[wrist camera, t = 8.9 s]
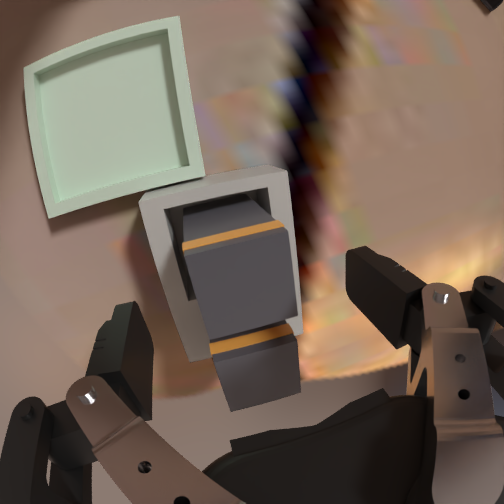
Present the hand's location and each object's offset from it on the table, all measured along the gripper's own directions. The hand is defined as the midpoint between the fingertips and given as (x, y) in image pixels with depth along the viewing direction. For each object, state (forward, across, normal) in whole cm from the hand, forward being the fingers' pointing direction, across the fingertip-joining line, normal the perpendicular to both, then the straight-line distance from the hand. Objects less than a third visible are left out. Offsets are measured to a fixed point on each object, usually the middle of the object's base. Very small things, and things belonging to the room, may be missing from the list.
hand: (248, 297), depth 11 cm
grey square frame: (+10, 0, +2) cm, 10 cm away
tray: (+10, +6, -8) cm, 14 cm away
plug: (+9, 0, 0) cm, 9 cm away
